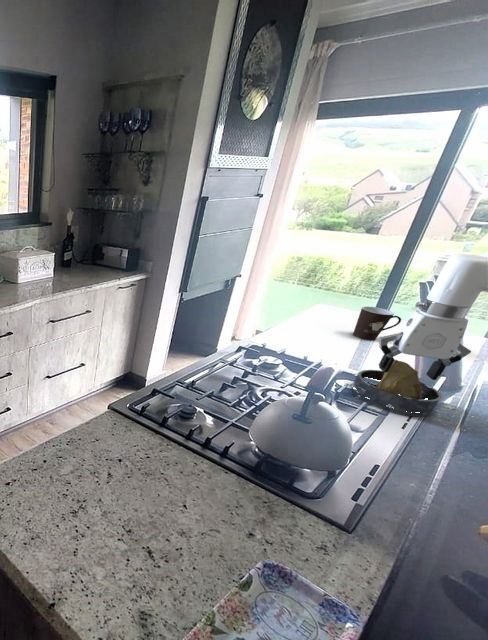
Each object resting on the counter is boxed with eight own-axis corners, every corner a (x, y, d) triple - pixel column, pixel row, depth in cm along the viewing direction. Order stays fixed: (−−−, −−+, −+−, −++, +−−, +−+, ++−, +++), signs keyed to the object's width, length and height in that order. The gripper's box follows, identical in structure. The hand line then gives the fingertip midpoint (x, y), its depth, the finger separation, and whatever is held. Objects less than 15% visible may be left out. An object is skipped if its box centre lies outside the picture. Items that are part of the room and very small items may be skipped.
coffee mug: (348, 336, 145) (361, 310, 140) (349, 330, 150) (362, 304, 146) (390, 346, 138) (406, 319, 133) (390, 339, 144) (405, 312, 139)
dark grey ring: (413, 391, 111) (422, 377, 108) (445, 422, 97) (456, 407, 95) (342, 379, 116) (349, 365, 114) (363, 407, 103) (372, 392, 100)
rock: (425, 388, 106) (378, 371, 111) (446, 374, 99) (396, 356, 104) (408, 421, 104) (362, 402, 109) (429, 408, 97) (378, 389, 102)
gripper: (405, 309, 94) (370, 373, 102) (504, 320, 89) (459, 387, 97) (391, 300, 100) (359, 361, 109) (482, 310, 95) (442, 374, 103)
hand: (406, 373), depth 103 cm, fingers open, 9 cm apart
